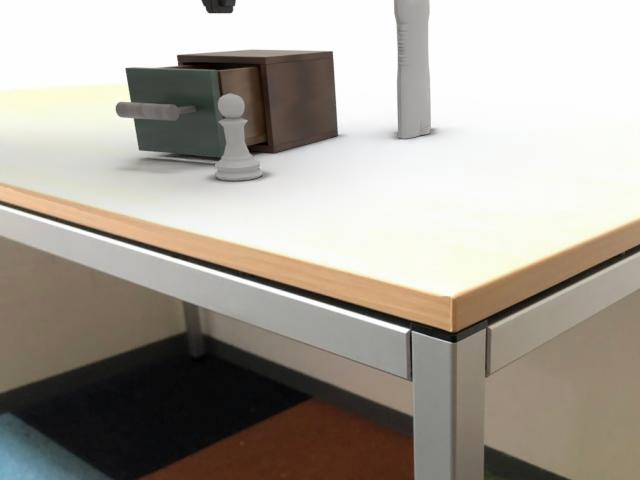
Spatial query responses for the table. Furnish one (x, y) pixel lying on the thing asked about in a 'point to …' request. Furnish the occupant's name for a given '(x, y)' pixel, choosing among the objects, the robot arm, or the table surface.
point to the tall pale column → (413, 68)
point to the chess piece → (235, 143)
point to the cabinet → (288, 93)
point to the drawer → (192, 106)
